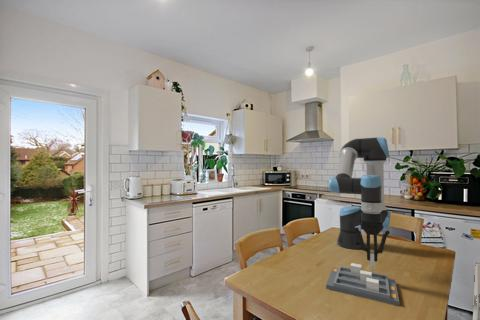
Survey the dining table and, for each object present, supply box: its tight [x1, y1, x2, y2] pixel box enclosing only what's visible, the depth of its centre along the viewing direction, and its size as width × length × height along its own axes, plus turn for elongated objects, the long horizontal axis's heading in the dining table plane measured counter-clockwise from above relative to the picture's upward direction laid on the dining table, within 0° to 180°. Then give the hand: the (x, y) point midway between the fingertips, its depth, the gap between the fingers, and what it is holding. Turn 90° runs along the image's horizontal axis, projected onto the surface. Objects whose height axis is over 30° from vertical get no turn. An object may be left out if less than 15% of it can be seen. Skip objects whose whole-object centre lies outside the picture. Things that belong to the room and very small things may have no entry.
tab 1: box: [350, 262, 363, 275], centre depth 101 cm, size 3×4×4 cm
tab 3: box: [366, 278, 379, 292], centre depth 88 cm, size 3×4×4 cm
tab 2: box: [360, 270, 373, 282], centre depth 94 cm, size 3×4×4 cm
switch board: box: [325, 265, 400, 306], centre depth 95 cm, size 18×24×3 cm
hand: (372, 268), depth 99 cm, fingers closed
